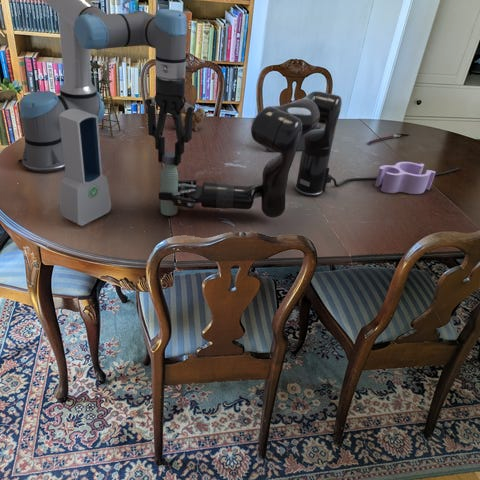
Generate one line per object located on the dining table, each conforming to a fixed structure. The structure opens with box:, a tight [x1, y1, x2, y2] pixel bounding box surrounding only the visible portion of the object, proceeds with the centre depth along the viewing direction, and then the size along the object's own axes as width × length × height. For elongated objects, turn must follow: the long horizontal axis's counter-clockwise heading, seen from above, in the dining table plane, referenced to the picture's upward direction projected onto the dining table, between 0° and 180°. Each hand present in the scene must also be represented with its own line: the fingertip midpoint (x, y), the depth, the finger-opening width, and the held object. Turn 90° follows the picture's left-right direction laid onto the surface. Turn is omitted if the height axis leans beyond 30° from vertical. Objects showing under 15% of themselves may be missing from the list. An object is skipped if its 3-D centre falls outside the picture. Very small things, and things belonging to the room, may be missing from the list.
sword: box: [367, 133, 409, 145], centre depth 213 cm, size 31×3×1 cm, turn 126°
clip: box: [374, 161, 436, 195], centre depth 169 cm, size 20×12×7 cm, turn 109°
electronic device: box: [59, 109, 112, 227], centre depth 126 cm, size 12×8×30 cm, turn 148°
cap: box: [161, 150, 175, 165], centre depth 131 cm, size 4×4×2 cm
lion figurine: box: [170, 107, 206, 132], centre depth 198 cm, size 15×5×9 cm, turn 110°
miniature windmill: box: [91, 55, 122, 138], centre depth 181 cm, size 9×8×30 cm
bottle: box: [160, 164, 179, 217], centre depth 135 cm, size 5×5×18 cm
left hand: (169, 162), depth 132 cm, fingers closed on cap, 4 cm apart
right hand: (160, 191), depth 136 cm, fingers closed on bottle, 5 cm apart
